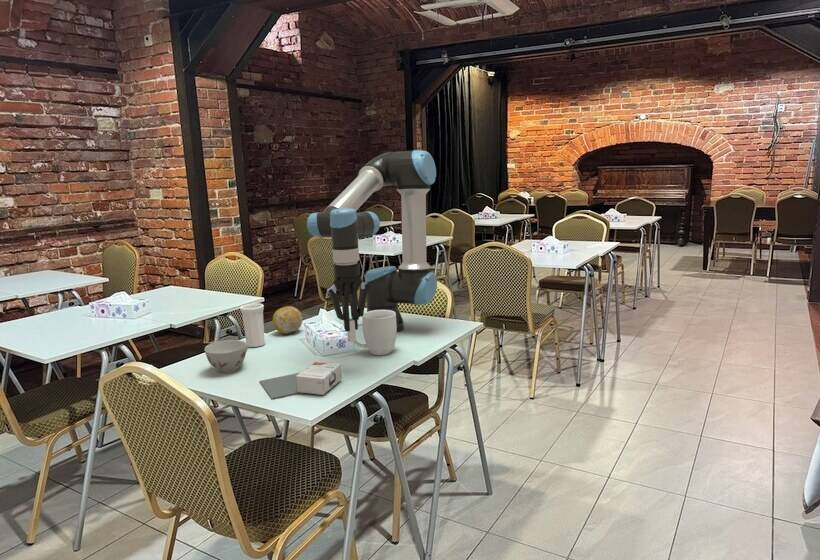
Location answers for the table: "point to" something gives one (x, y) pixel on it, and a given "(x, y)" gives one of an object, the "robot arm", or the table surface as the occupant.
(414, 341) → the table surface
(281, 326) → the fruit
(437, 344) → the table surface
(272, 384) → the mat
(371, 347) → the mug
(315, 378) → the ink box
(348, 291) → the robot arm
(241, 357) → the teacup
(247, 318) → the cup
